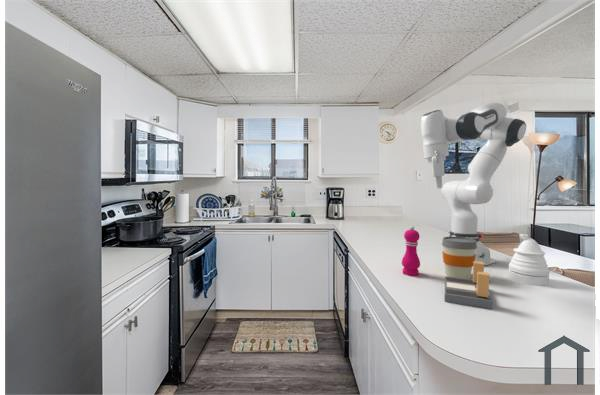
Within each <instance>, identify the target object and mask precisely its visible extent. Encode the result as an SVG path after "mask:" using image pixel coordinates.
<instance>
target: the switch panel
mask: <svg viewBox="0 0 600 395" xmlns="http://www.w3.org/2000/svg"><path fill="white" fill-rule="evenodd" d="M476 288H477V283H473V279H470V278H469V279H462V278H454V277H449V276H447V275H445V277H444V302H445V303H450V304H451V303H452V304H458V305H464V306H470V307H476V308H481V309H488V310H493V302H494V301H493V298H492V296H491V294H490V292H489V294H488V298H487V297H480V296H477V294H476Z"/></svg>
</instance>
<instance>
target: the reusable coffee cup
mask: <svg viewBox="0 0 600 395" xmlns="http://www.w3.org/2000/svg"><path fill="white" fill-rule="evenodd" d="M441 245H442V261H443V264H444V269H445V270H444V271H445V276H447V277H454V278H462V279H469V280H470V279H471V275H472V272H473V261H475V256H476V255H475V250H476V248H477V245H476V240H474V239H470V238H464V237H450V236H444V237H443V238H442V243H441Z"/></svg>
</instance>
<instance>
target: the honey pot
mask: <svg viewBox="0 0 600 395" xmlns="http://www.w3.org/2000/svg"><path fill="white" fill-rule="evenodd" d="M519 236H520V238H521V239H522V240H523V241H521V243H520V244H519V245H518V247H514V248H513V251H514V254H513V255H512V256H511V260H510V262H509V263H508V275H507V278H508V279H509V280H510V281H512V282H515V283H518V284H519V283H520V284H521V285H528V286H537V287H539V286H540V287H543V286H548V285H549V284H550V269H549V267H548V266H549V265H548V264H547V259H546V258H545V255H546V252H545V251H544V250H542V249H541V246H540V245H539V243H538V242H537V241H536V240H535V239H533V238H532V237H529V234H528V233H520V234H519Z"/></svg>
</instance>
